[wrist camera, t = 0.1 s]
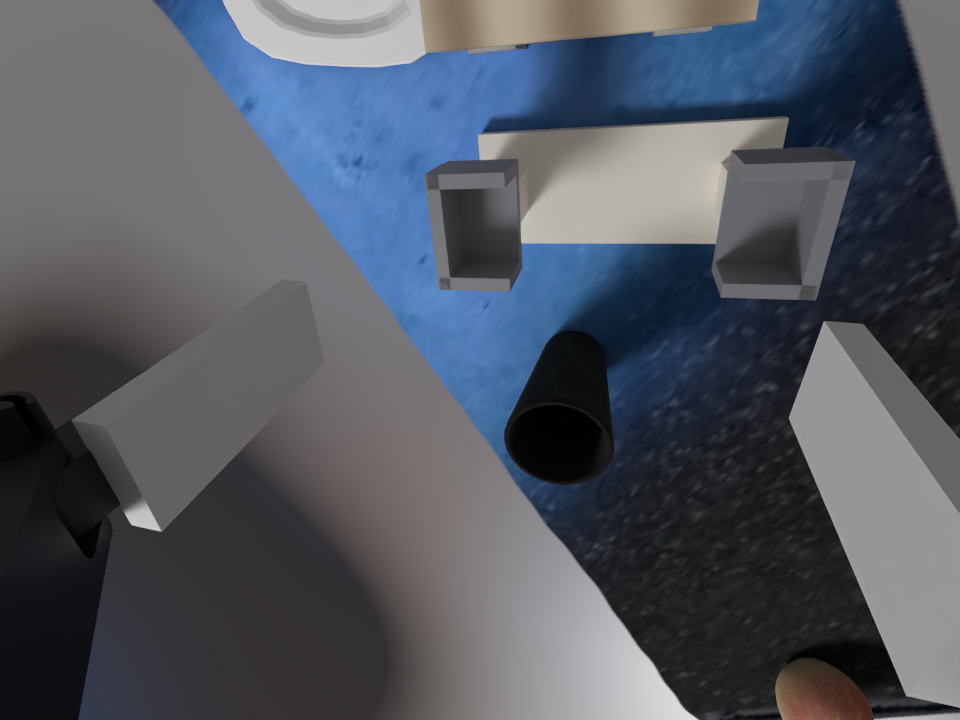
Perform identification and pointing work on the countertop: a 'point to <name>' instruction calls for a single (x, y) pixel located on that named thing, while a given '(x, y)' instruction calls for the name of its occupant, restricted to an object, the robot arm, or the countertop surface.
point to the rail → (565, 19)
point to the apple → (819, 693)
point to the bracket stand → (644, 201)
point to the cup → (564, 413)
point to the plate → (333, 30)
